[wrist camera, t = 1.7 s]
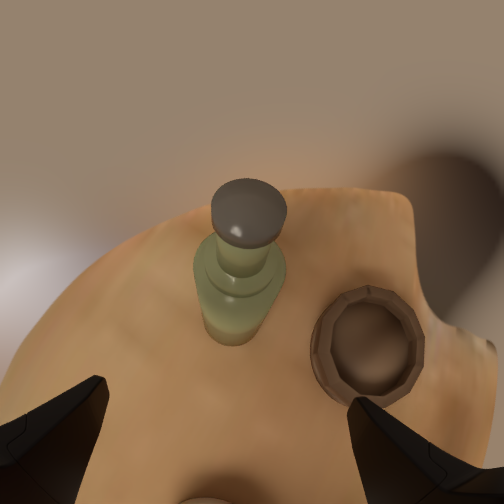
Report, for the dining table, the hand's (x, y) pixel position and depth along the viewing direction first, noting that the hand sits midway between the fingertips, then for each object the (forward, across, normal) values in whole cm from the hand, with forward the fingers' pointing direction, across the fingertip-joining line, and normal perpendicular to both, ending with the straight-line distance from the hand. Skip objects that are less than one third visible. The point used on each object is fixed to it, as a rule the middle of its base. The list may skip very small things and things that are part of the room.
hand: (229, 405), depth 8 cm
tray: (+12, -12, +6) cm, 18 cm away
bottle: (+14, 0, +4) cm, 15 cm away
